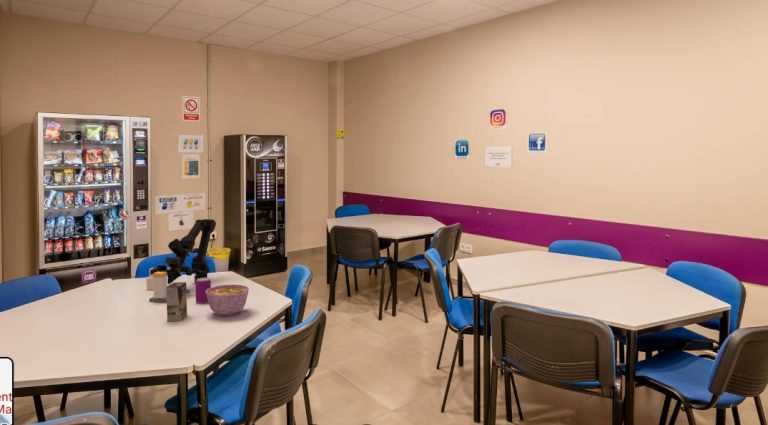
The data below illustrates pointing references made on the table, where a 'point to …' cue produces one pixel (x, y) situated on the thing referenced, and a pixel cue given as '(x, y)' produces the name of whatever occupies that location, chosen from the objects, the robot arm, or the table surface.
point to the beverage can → (202, 289)
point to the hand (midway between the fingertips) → (168, 283)
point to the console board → (162, 299)
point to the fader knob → (160, 284)
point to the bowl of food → (227, 298)
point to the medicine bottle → (151, 279)
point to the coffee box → (176, 301)
